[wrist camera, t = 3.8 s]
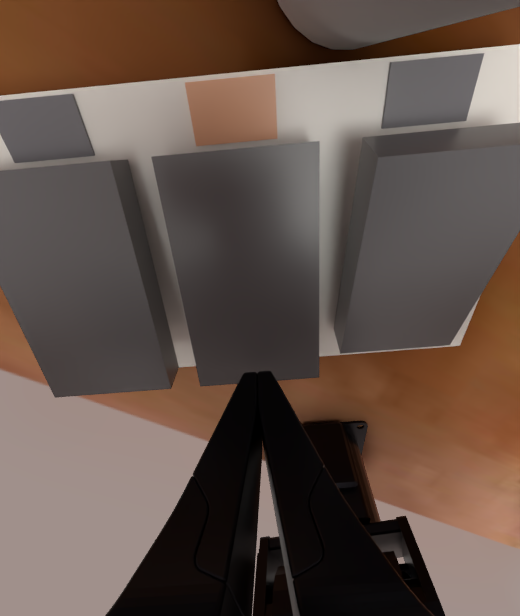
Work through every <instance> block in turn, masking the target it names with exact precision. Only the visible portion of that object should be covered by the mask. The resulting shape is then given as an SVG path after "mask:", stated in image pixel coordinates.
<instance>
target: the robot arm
mask: <svg viewBox="0 0 520 616" xmlns="http://www.w3.org/2000/svg"><path fill="white" fill-rule="evenodd" d="M358 425H363V426H362V427H357V426H358ZM367 427H368V425H367V423H366V422H365V421H351V422H333V423H319V424H305V425H302V424H301V423H300V421H299V419H298V417H297V416H296V414H295V412H294V410H293V408H292V407H291V405H290V403H289V401H288V400H287V398H286V396H285V394H284V393H283V391H282V389H281V387H280V386H279V384H278V382H277V380H276V378H275V377H274V375H273V373H272V372H271V371H259V372H258V374H257V372H245V373H243V375H242V377H241V379H240V381H239V383H238V385H237V387H236V389H235V391H234V393H233V395H232V397H231V399H230V401H229V403H228V405H227V407H226V409H225V411H224V413H223V415H222V417H221V419H220V421H219V423H218V425H217V427H216V429H215V431H214V433H213V435H212V437H211V439H210V441H209V443H208V445H207V447H206V449H205V451H204V453H203V454H202V456H201V459H200V460H199V463H198V464H197V467H196V468H195V471H194V473H193V476H192V477H191V478H190V480H189V482H188V484H187V486H186V488H185V490H184V492H183V494H182V496H181V498H180V499H179V501H178V503H177V505H176V507H175V509H174V511H173V512H172V514H171V516H170V517H169V519H168V521H167V522H166V524H165V526H164V527H163V529H162V531H161V532H160V534H159V535H158V537H157V539H156V540H155V542H154V543H153V545H152V546H151V548H150V550H149V551H148V553H147V554H146V556H145V558H144V559H143V561H142V562H141V564H140V565H139V567H138V569H137V570H136V572H135V573H134V575H133V576H132V578H131V580H130V581H129V583H128V584H127V586H126V588H125V589H124V591H123V592H122V593H121V595H120V597H119V598H118V599H117V601H116V602H115V604H114V605H113V606H112V608H111V609H110V610H109V612H108V613H107V614H106V616H252V603H253V587H254V572H255V556H256V541H257V524H258V509H259V493H260V478H261V463H262V440H263V447H264V453H265V459H266V465H267V470H268V476H269V481H270V487H271V493H272V498H273V504H274V510H275V516H276V521H277V527H278V533H279V537H273V538H270V537H269V536H268V537H261V538H260V549H259V553H258V555H257V567H256V579H255V580H256V581H255V592H254V593H255V594H254V606H253V616H445V614H444V611H443V608H442V606H441V603H440V601H439V598H438V596H437V593H436V591H435V588H434V586H433V583H432V581H431V578H430V576H429V573H428V571H427V568H426V565H425V563H424V560H423V558H422V555H421V553H420V550H419V548H418V546H417V543H416V540H415V538H414V535H413V533H412V530H411V528H410V525H409V523H408V520H407V518H406V516H401V517H396V519H394V520H387V521H380V518H379V514H378V511H377V507H376V504H375V501H374V497H373V494H372V490H371V487H370V484H369V480H368V477H367V474H366V470H365V467H364V464H363V460H362V457H361V455H362V450H363V446H364V441H365V436H366V432H367ZM399 557H404V561H405V564H399V563H398V561H397V558H399Z"/></svg>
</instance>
